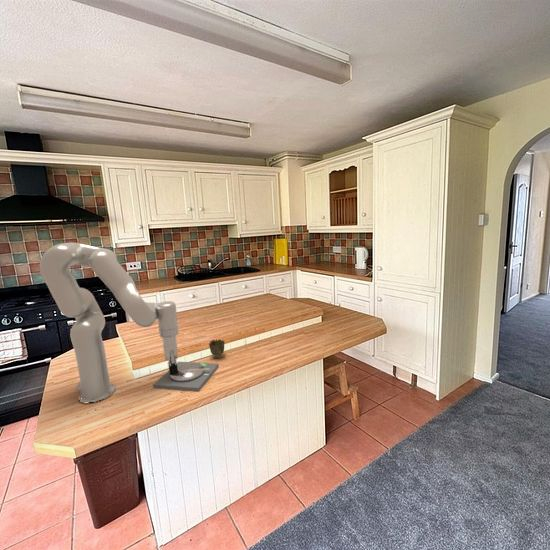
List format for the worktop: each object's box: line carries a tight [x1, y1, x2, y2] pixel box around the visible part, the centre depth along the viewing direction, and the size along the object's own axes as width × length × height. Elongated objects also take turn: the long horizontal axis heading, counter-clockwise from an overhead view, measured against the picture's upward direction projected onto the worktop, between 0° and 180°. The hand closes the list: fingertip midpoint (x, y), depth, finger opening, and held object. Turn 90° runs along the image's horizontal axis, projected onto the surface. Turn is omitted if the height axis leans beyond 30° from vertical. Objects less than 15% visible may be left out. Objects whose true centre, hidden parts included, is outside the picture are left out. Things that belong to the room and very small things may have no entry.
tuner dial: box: [170, 357, 210, 382], centre depth 126 cm, size 17×14×7 cm
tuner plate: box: [152, 361, 220, 392], centre depth 126 cm, size 20×20×2 cm
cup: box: [208, 339, 225, 360], centre depth 143 cm, size 8×7×8 cm
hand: (173, 371), depth 125 cm, fingers closed on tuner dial, 2 cm apart
